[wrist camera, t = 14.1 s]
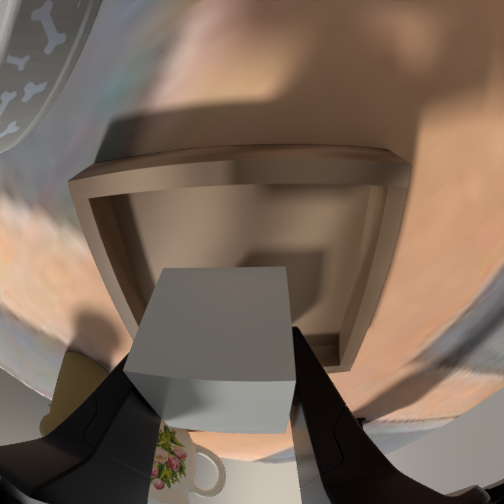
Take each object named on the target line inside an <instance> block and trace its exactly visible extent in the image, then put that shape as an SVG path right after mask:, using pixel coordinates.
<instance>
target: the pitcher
mask: <svg viewBox="0 0 504 504" xmlns="http://www.w3.org/2000/svg"><path fill="white" fill-rule="evenodd" d="M196 453H199V454H202V455H204V456H205V457H207V458H208V459H209V460H210V461H211V462H212V463H213V464H214V465H215V467H216V469H217V473H218V478H217V483H216V485H215V486H214V488H213V489H211V490H208V491H205V490H201V489H199V488H197V487H196V486H195V484H194V483H193V480H194V477H195V472H196V456H195V454H196ZM225 479H226V472H225V467H224V465H223V463H222V461H221V460H220V458H219V457H218V456H217V455H216V454H215V453H213V452H212V451H210V450H209V449H207V448H204V447H202V446H200V445H197V444H195V443H193V442H192V439H191V437H190V435H189V433H188V431H187V430H186V429H182V428H175V427H169V426H168V425H167V424H166V423H165V421H164V420H163V419H161V424H160V430H159V435H158V440H157V446H156V451H155V457H154V463H153V469H152V475H151V482H150V489H149V495H148V500H153V501H157V502H162V503H167V504H189V500H188V492H192V493H194V494H196V495H198V496H201V497H206V498H209V497H213V496H216V495H217V494H219V493H220V492H221V490H222V489H223V487H224V484H225Z"/></svg>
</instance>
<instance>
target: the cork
mask: <svg viewBox="0 0 504 504" xmlns="http://www.w3.org/2000/svg"><path fill="white" fill-rule="evenodd" d="M108 375H109V374H108V373H107V371H106V370H105V369H104V368H103V367H102V366H101V365H99V364H98V363H96V362H95V361H94V360H92V359H90V358H88V357H86V356H84V355H82V354H80V353H76V352H69V351H68V352H66V353H65V355H64V358H63V362H62V365H61V369H60V372H59V376H58V379H57V383H56V387H55V391H54V395H53V399H52V404H51V408H50V413H49V414H47V415H46V416H44V417H43V419H42V420H41V423H40V433H41V436H42V437H44V436H45V435H47V434H49V433H50V432H51V431H52V430H53V429H54V428H56V427H57V426H58V425H59V424H60V423H61V422H62V421H64V420H65V419H66V418H67V417H68V416H69V415H70V414H71V413H72V412H73V411H75V410H76V409H77V408H78V407H79V406H80V405H81V404H82V403H83V402H84V401H85V400H86V398H87V397H88V396H89V395H90V394H91V393H92V392H93V391H95V389H96V388H97V387H98V385H99V384H100V383H101V382H102V381H103V380H104V379H105V378H106V377H107V376H108Z"/></svg>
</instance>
